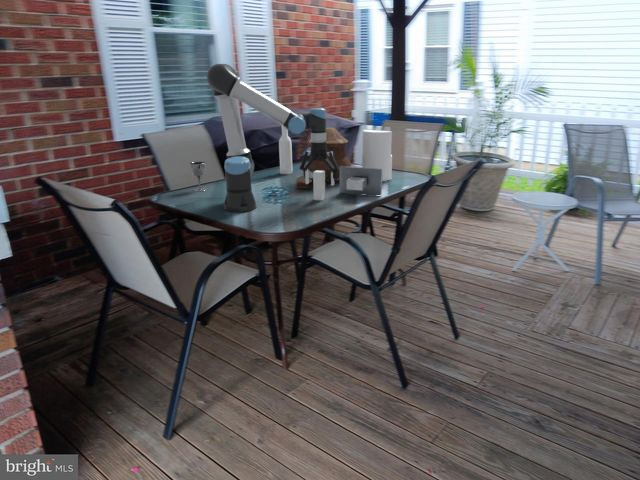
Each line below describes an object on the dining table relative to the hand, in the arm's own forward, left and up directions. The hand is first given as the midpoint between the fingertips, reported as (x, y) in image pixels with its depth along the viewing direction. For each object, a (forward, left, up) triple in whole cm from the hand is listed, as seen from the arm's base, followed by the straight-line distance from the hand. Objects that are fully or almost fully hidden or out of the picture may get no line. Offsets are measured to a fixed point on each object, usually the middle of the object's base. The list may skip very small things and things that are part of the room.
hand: (319, 184), depth 241 cm
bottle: (+53, +42, -8) cm, 68 cm away
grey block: (+10, -17, -7) cm, 21 cm away
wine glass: (-2, +69, -8) cm, 70 cm away
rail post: (0, 0, -7) cm, 7 cm away
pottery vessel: (+43, +10, -8) cm, 45 cm away
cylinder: (+54, -16, -8) cm, 57 cm away
